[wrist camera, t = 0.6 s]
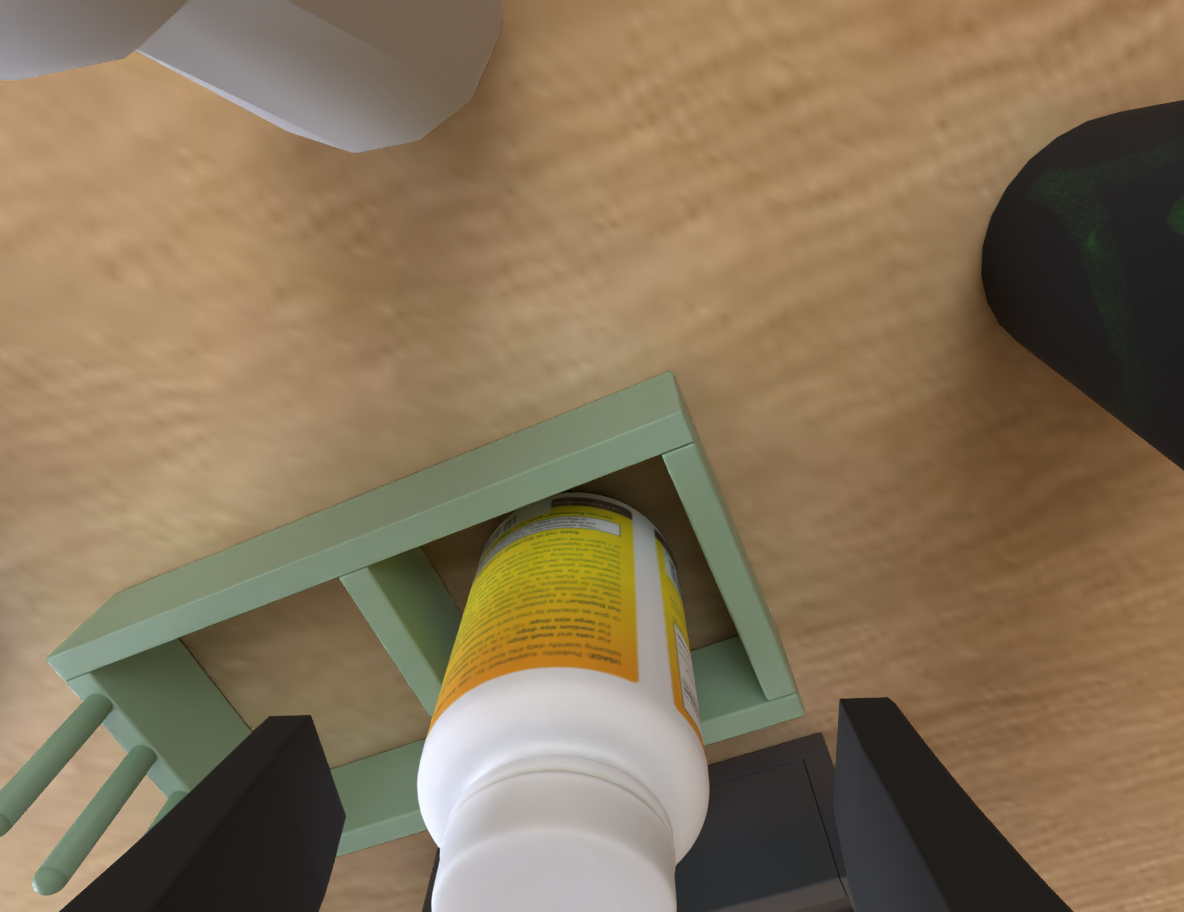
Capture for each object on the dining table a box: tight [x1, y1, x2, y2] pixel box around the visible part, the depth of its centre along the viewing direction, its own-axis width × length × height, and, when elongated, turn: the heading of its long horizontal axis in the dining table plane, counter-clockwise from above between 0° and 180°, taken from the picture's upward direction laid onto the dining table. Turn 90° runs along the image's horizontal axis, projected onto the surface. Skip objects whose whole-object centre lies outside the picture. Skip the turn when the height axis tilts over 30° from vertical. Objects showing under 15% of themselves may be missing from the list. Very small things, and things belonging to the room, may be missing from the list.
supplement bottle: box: [417, 492, 710, 912], centre depth 17 cm, size 6×6×10 cm
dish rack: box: [0, 371, 805, 896], centre depth 19 cm, size 17×9×7 cm, turn 113°
